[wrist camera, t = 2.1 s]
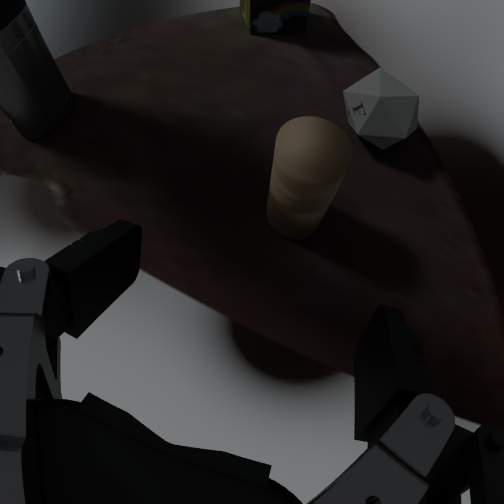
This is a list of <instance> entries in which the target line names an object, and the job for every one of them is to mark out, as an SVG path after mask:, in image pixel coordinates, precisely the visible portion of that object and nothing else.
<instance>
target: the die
mask: <svg viewBox="0 0 504 504" xmlns="http://www.w3.org/2000/svg"><path fill="white" fill-rule="evenodd" d="M343 94H344V99H345V105H346V111H347V117H348V123H349V124H350V126H351V127H352V128H353V129H354V131H355V132H356V133H357V135H359V136H361V137H362V138H364V139H366V140H367V141H369V142H371V143H372V144H374V145H375V146H377V147H379V148H380V149H382V150H383V149H385V148H387V147H389V146H391V145H393V144H395V143H397V142H399V141H401V140H403V139H405V138H406V137H408V136H409V135H410V134H411V133H412V132H413V131H414V130H415V129H417V119H418V104H419V96H418V95H417V94H416V93H414V92H413V91H412V90H411V89H409V88H408V87H407V86H405V85H404V84H402V83H401V82H400V81H398V80H397V79H396V78H394V77H393V76H391V75H390V74H388V73H387V72H385V71H384V70H383V69H381V68H379V69H377V70H376V71H374V72H372V73H371V74H369V75H368V76H366V77H364V78H363V79H361V80H360V81H358V82H357V83H355V84H353V85H352V86H350V87H349V88H347V89H346V90H344V91H343Z"/></svg>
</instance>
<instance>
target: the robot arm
mask: <svg viewBox="0 0 504 504" xmlns="http://www.w3.org/2000/svg"><path fill="white" fill-rule="evenodd" d="M73 104H74V97H73V94H72V93H71V91H70V89H69V87H68V85H67V83H66V81H65V80H64V78H63V76H62V74H61V72H60V70H59V68H58V66H57V64H56V62H55V60H54V59H53V57H52V55H51V53H50V51H49V49H48V47H47V45H46V43H45V41H44V39H43V37H42V35H41V33H40V31H39V29H38V27H37V25H36V22H35V21H34V19H33V17H32V14H31V12H30V10H29V8H28V6H27V4H26V1H25V0H0V109H1V110H2V111H3V112H4V114H5V115H6V116H7V117H8V119H9V120H10V121H11V123H12V124H13V125H14V126H15V128H16V129H17V130H18V131H19V132H20V134H21V135H22V136H23V137H24V138H25V139H29V140H35V139H38V138H41V137H43V136H46V135H47V134H49V133H50V132H52V131H53V130H55V129H56V128H57V127H58V126H59V125H60V124H61V123H62V122H63V121H64V120H65V119H66V117H67V116H68V115H69V113H70V111H71V109H72V107H73ZM141 242H142V228H141V226H139V225H136V224H133V223H130V222H127V221H124V220H118V221H116V222H114V223H113V224H111V225H109V226H108V227H106V228H105V229H100V230H96V231H93V232H90V233H88V234H86V235H85V236H83V237H81V238H80V240H77V241H75V242H74V243H72V245H69V246H67V247H66V248H64V249H62V250H61V251H59V252H58V253H56V254H55V255H53V256H52V257H50V258H48V259H47V260H46V261H42V260H39V259H35V258H25V259H20V260H17V261H15V262H13V263H11V264H10V265H9V266H8V267H7V268H4V267H0V504H303V503H302V502H301V501H300V500H299V499H298V498H297V497H296V496H295V495H294V494H293V493H291V492H290V491H288V489H286V488H285V487H284V486H282V485H280V484H279V483H277V482H276V481H274V480H271V479H270V478H269V474H270V469H271V465H268V464H265V463H261V462H257V461H253V460H250V459H246V458H243V457H240V456H236V455H233V454H230V453H227V452H223V451H216V450H208V449H200V448H193V447H187V446H181V445H174V444H171V443H169V442H167V441H165V440H164V439H162V438H161V437H159V436H158V435H157V434H155V433H154V432H152V431H151V430H150V429H149V428H147V427H146V426H145V425H143V424H142V423H141V422H139V421H138V420H137V419H136V418H134V417H133V416H132V415H130V414H129V413H128V412H126V411H124V410H122V409H120V408H118V407H116V406H113V405H112V404H110V403H108V402H106V401H104V400H102V399H100V398H99V397H97V396H95V395H93V394H91V393H88V394H87V395H86V397H85V398H84V399H83V400H82V402H77V401H73V400H67V399H62V395H61V382H60V350H61V342H60V337H59V336H60V335H61V334H63V333H64V332H66V333H67V334H69V335H71V336H73V337H74V338H76V339H77V338H78V337H79V336H80V335H81V334H82V333H83V332H84V331H85V330H86V329H87V328H88V327H89V326H90V325H91V324H92V323H93V322H94V321H95V320H96V319H97V318H98V317H99V316H100V315H101V314H102V313H103V312H104V311H105V310H106V309H107V308H108V307H109V306H110V305H111V304H112V303H113V302H114V301H115V300H116V299H117V298H118V297H119V296H120V295H121V294H122V293H123V292H124V291H125V290H126V289H128V287H130V286H131V284H133V282H134V281H135V279H136V277H137V275H138V272H139V268H140V255H141ZM422 354H423V351H422V348H421V344H420V341H419V339H418V338H417V337H416V335H415V334H414V332H413V331H412V330H411V329H408V328H407V325H406V321H405V318H404V314H403V312H402V311H401V310H398V309H395V308H392V307H389V306H385V305H382V304H380V305H379V306H378V307H377V308H376V310H375V312H374V314H373V316H372V318H371V320H370V321H369V323H368V325H367V327H366V329H365V331H364V332H363V334H362V336H361V338H360V340H359V341H358V344H357V346H356V350H355V354H354V380H355V430H354V434H355V436H354V439H355V440H359V441H365V442H368V449H367V450H366V451H365V452H364V453H362V454H361V455H360V456H359V458H358V459H357V460H356V461H355V462H354V463H352V464H351V465H350V466H349V467H348V468H347V469H346V470H345V471H344V472H343V473H342V474H341V475H340V476H339V477H338V478H337V479H335V481H333V482H332V483H331V484H330V485H329V486H328V487H326V488H325V489H324V490H323V491H322V492H321V493H320V494H318V495H317V496H316V497H315V498H313V499H312V500H311V501H309V502H308V503H307V504H461V494H462V493H464V492H465V491H467V490H468V489H470V498H471V504H504V431H503V430H502V429H501V428H500V427H499V426H497V425H496V424H493V423H484V424H482V425H481V426H480V427H479V428H478V429H477V430H476V431H475V432H474V433H473V432H471V431H469V430H466V429H464V428H462V427H460V426H458V425H456V424H455V418H454V415H453V412H452V410H451V409H450V407H449V406H448V405H447V404H446V402H444V401H443V400H442V399H440V398H439V397H437V396H435V395H434V394H433V389H432V385H431V381H430V377H429V373H428V369H427V366H426V365H425V358H424V355H422Z"/></svg>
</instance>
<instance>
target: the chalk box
mask: <svg viewBox="0 0 504 504" xmlns="http://www.w3.org/2000/svg"><path fill="white" fill-rule="evenodd" d="M310 1H311V0H240V12H241V14H242V16H243V19H244V21H245V24H246V26H247V28H248V31H249V33H250V34H259V33H274V32H305V31H306V25H307V19H308V12H309V6H310Z"/></svg>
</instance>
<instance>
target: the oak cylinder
mask: <svg viewBox="0 0 504 504" xmlns="http://www.w3.org/2000/svg"><path fill="white" fill-rule="evenodd" d="M352 159H353V147H352V144H351V141H350V139H349V138H348V136H347V135H346V133H345V132H344V131H343V130H342V129H341V128H340V127H338V126H337V125H335V124H334V123H332V122H330V121H328V120H325V119H322V118H319V117H311V116H305V117H298V118H295V119H292V120H290V121H288V122H287V123H285V124H284V125H283V126H282V127H281V129H280V130H279V132H278V134H277V137H276V144H275V151H274V159H273V166H272V173H271V181H270V188H269V195H268V202H267V210H266V217H267V221H268V224H269V226H270V227H271V229H272V230H273V231H274V232H275V233H276V234H278V235H279V236H281V237H283V238H286V239H289V240H301V239H304V238H307V237H309V236H310V235H312V234H313V233H314V232H315V231H316V229H317V227H318V226H319V224H320V222H321V220H322V218H323V216H324V214H325V212H326V211H327V209H328V207H329V205H330V203H331V201H332V199H333V197H334V195H335V193H336V192H337V190H338V188H339V186H340V184H341V182H342V180H343V178H344V176H345V174H346V172H347V170H348V168H349V166H350V164H351V162H352Z"/></svg>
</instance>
